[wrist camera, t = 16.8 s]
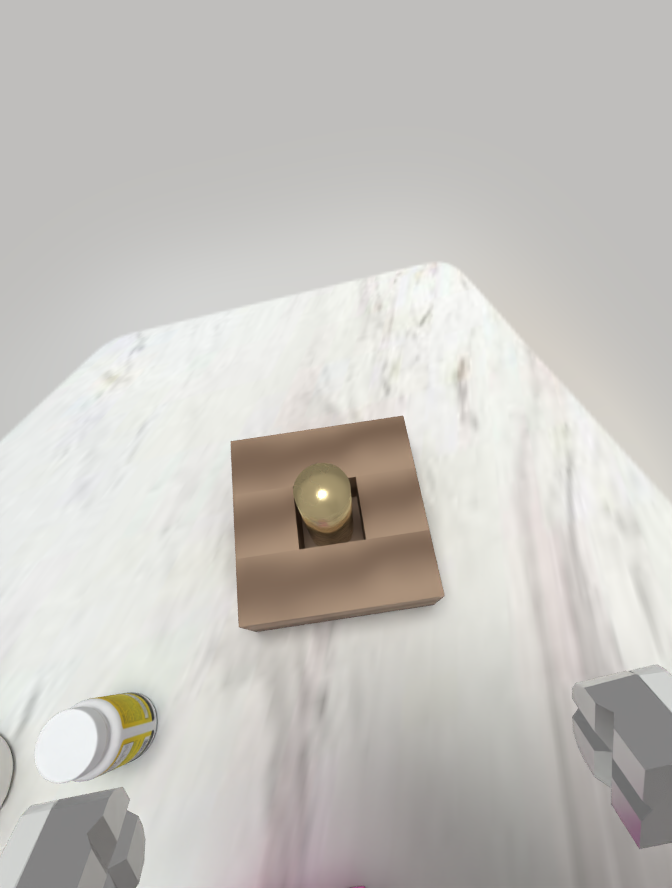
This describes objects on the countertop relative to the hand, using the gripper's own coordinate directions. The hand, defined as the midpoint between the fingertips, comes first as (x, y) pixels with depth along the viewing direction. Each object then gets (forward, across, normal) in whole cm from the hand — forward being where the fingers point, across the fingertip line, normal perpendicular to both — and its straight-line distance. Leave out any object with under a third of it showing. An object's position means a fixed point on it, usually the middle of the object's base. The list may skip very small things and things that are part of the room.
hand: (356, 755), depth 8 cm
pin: (+30, 0, +13) cm, 33 cm away
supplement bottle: (+23, +19, +22) cm, 37 cm away
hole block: (+31, 0, +14) cm, 34 cm away
